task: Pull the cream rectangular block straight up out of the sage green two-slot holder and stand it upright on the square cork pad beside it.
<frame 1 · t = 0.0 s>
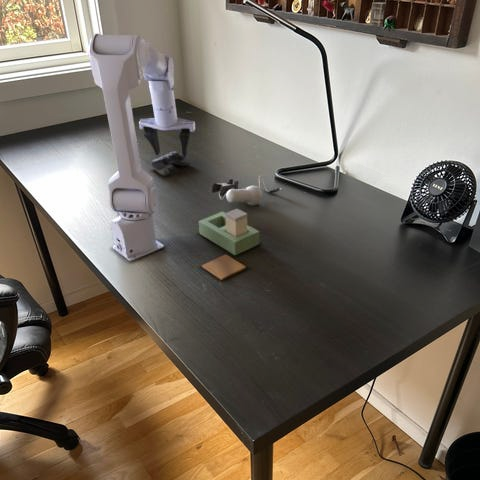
hand: (171, 153, 135), 11 cm above the table, tool pointing down, fingers open, 7 cm apart
cream rectangular block: (236, 243, 118), resting in holder
clip-on lamp: (248, 199, 137), on the table
cork pad: (223, 267, 110), on the table
holder: (228, 238, 120), on the table
gaming controller: (170, 169, 153), on the table
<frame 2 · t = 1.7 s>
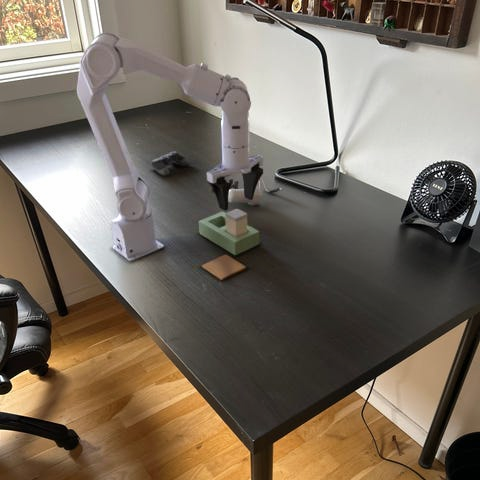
hand: (236, 203, 112), 10 cm above the table, tool pointing down, fingers open, 7 cm apart
nothing on the table moved.
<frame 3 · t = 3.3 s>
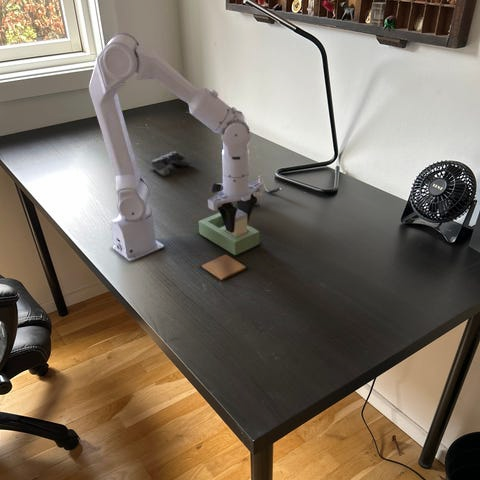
hand: (236, 228, 115), 4 cm above the table, tool pointing down, fingers closed on cream rectangular block, 3 cm apart
cream rectangular block: (236, 243, 118), resting in holder, touching gripper
everything else where it was.
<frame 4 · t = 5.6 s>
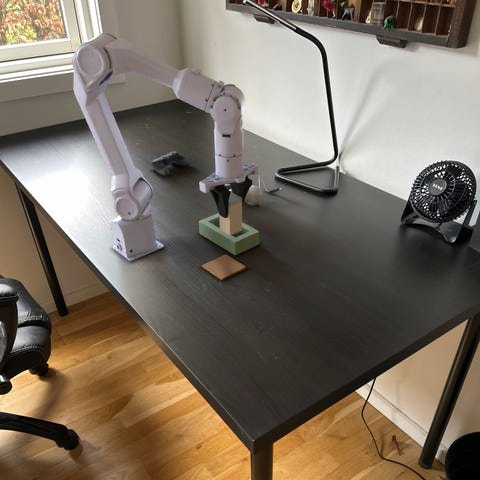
hand: (230, 213, 108), 10 cm above the table, tool pointing down, fingers closed on cream rectangular block, 3 cm apart
cream rectangular block: (230, 230, 111), point 6 cm above the table, touching gripper
everything else where it was.
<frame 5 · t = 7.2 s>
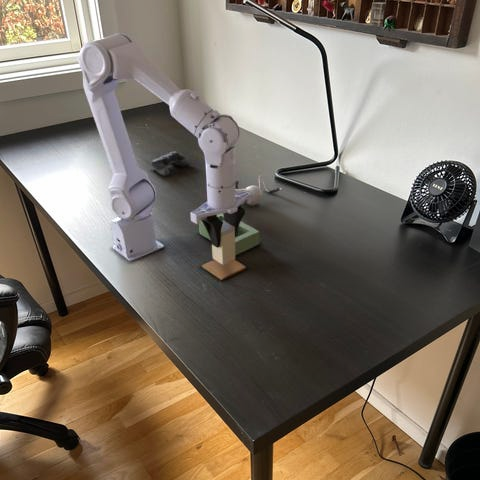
hand: (223, 242, 106), 7 cm above the table, tool pointing down, fingers closed on cream rectangular block, 3 cm apart
cream rectangular block: (223, 258, 109), point 2 cm above the table, touching gripper
everything else where it was.
when the fingers open (5 cm above the table, at t = 8.2 s): cream rectangular block stays where it is, resting on cork pad.
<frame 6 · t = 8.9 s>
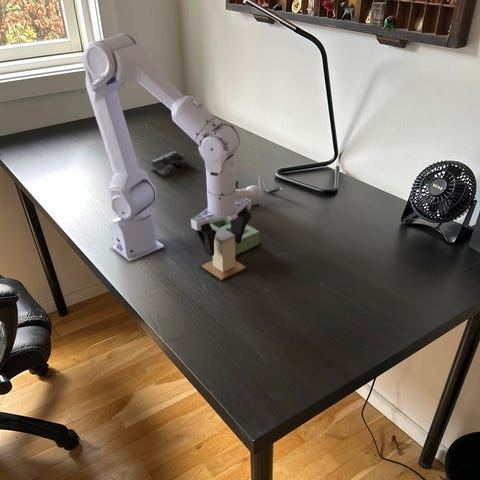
hand: (223, 248, 107), 5 cm above the table, tool pointing down, fingers open, 7 cm apart
cream rectangular block: (224, 265, 110), resting on cork pad
everything else where it was.
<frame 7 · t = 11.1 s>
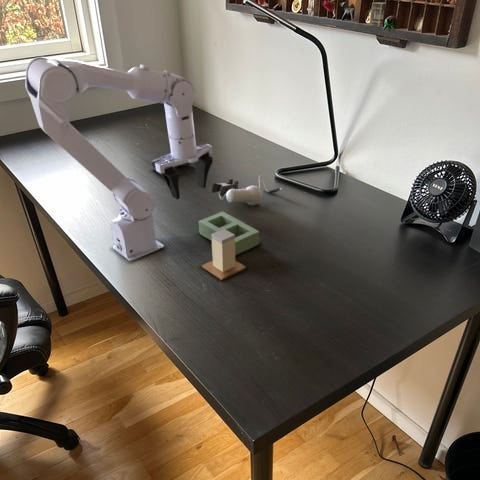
hand: (189, 191, 116), 10 cm above the table, tool pointing down, fingers open, 7 cm apart
nothing on the table moved.
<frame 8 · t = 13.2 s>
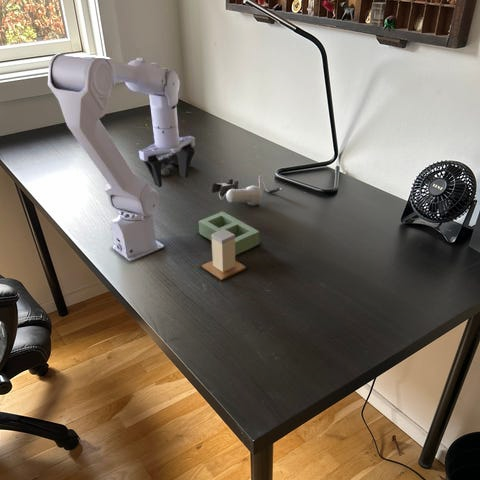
hand: (171, 181, 121), 10 cm above the table, tool pointing down, fingers open, 7 cm apart
nothing on the table moved.
at the end: cream rectangular block 0.0 cm off-centre on the cork pad, point 0.5 cm above the cork pad's base; cream rectangular block tilted 0°; cream rectangular block touching cork pad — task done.
